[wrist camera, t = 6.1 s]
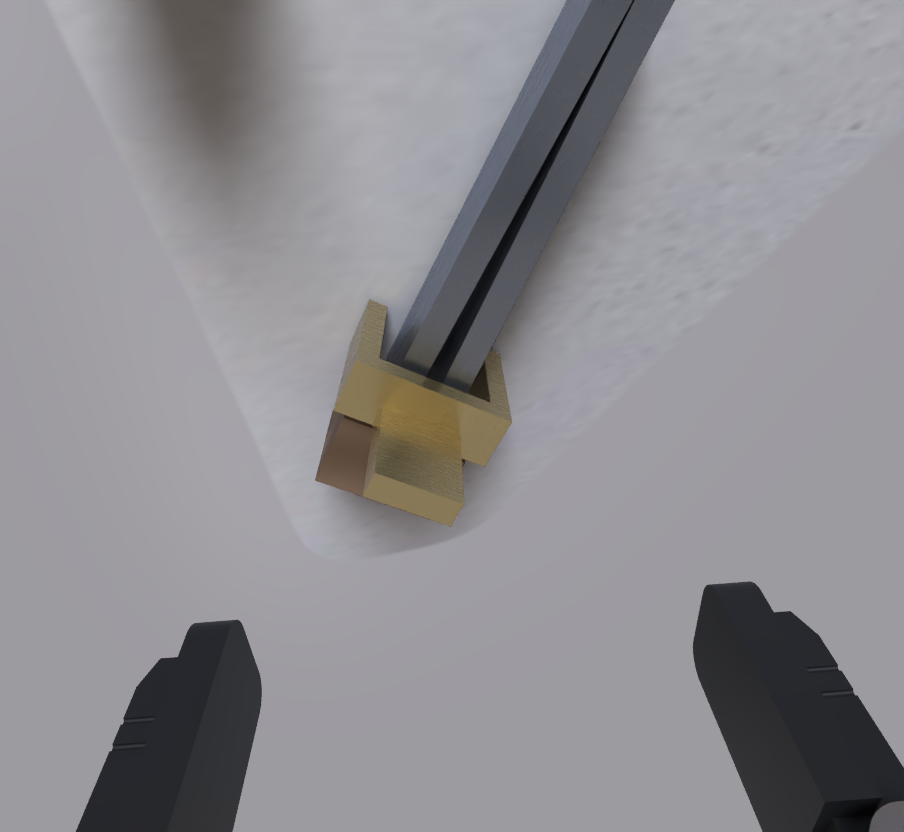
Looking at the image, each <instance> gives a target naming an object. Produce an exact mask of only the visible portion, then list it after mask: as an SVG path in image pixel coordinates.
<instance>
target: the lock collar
mask: <svg viewBox="0 0 904 832" xmlns="http://www.w3.org/2000/svg"><path fill="white" fill-rule="evenodd" d="M386 314H387V307H386V306H384V305H382V304H379V303H377V302H375V301H372V300H370V299H369V301H368V304H367V306H366V308H365V311H364V313H363V315H362V318H361V320H360V322H359V325H358V327H357V329H356V332H355V334H354V336H353V339H352V341H351V343H350V347H349V351H348V355H347V359H346V363H345V367H344V371H343V375H342V379H341V383H340V387H339V391H338V395H337V399H336V403H335V407H334V411H336V412H338V413H341V414H344V415H347V416H349V417H352V418H355V419H357V420H360V421H363V422H365V423H368V424H371V425H373V429H372V436H371V443H370V449H369V456H368V463H367V470H366V476H365V483H364V490H363V497H366V498H369V499H372V500H375V501H378V502H380V503H383V504H386V505H389V506H392V507H395V508H398V509H401V510H404V511H407V512H410V513H413V514H416V515H419V516H421V517H424V518H427V519H430V520H433V521H436V522H439V523H442V524H445V525H448V526H451V525H452V523H453V522H454V520H455V519H456V517H457V515H458V514H459V512H460V510H461V509H462V507H463V506H464V491H463V474H462V459H465V460H468V461H470V462H473V463H476V464H478V465H481V466H484V467H485V465H486V463H487V462H488V460H489V459H490V457H491V455H492V454H493V452H494V450H495V449H496V447H497V446H498V444H499V442H500V441H501V439H502V438H503V436H504V434H505V433H506V431H507V429H508V428H509V426H510V425H511V423H512V420H511V414H510V409H509V403H508V398H507V392H506V387H505V381H504V376H503V371H502V365H501V360H500V354H498V353H496V352H493V351H491V350H490V351H489V353H488V355H487V357H486V359H485V360H484V362H483V364H482V366H481V368H480V370H479V372H478V374H477V376H476V377H475V379H474V381H473V383H472V385H471V387H470V389H469V391H468V393H465V392H462V391H460V390H457V389H455V388H452V387H450V386H447V385H445V384H442V383H440V382H437V381H435V380H432V379H430V378H427V377H425V376H422V375H420V374H417V373H415V372H412V371H410V370H407V369H405V368H402V367H400V366H397V365H395V364H392V363H390V362H387V361H385V360H382V359H380V352H381V345H382V339H383V333H384V326H385V320H386Z"/></svg>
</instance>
